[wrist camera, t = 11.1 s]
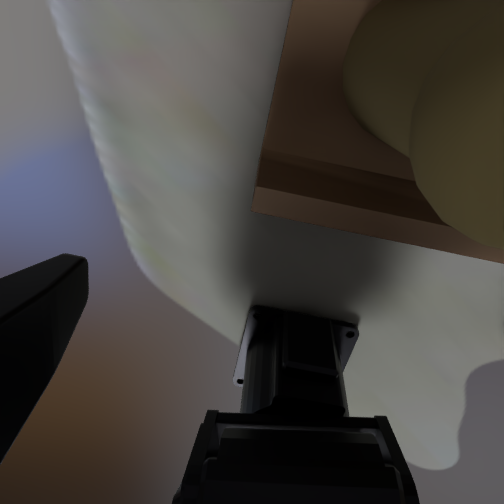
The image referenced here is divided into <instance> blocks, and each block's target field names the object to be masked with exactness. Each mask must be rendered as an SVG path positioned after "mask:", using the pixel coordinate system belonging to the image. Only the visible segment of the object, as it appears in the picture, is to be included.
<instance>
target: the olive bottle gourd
mask: <svg viewBox="0 0 504 504" xmlns="http://www.w3.org/2000/svg"><path fill="white" fill-rule="evenodd" d="M343 92H344V95H345V98H346V102H347V105H348V108H349V111H350V113H351V114H352V115H353V117H354V118H355V119H356V121H357V122H358V123H359V125H360V126H361V127H362V129H364V130H365V131H367V132H369V133H370V134H372V135H373V136H375V137H376V138H378V139H379V140H381V141H382V142H384V143H386V144H387V145H389V146H391V147H392V148H394V149H395V150H397V151H399V152H400V153H402V154H404V155H405V156H407V157H409V158H410V161H411V165H412V169H413V172H414V176H415V180H416V184H417V186H418V188H419V189H420V191H421V192H422V194H423V195H424V197H425V198H426V199H427V201H428V202H429V204H430V205H431V206H432V208H433V209H434V210H435V212H436V213H437V214H438V216H439V217H440V219H441V220H442V221H443V222H445V223H446V224H448V225H450V226H451V227H453V228H454V229H456V230H458V231H459V232H461V233H462V234H464V235H466V236H467V237H469V238H471V239H472V240H474V241H476V242H478V243H480V244H482V245H485V246H490V247H494V248H498V249H503V250H504V0H381V1H380V2H379V3H378V4H377V5H376V6H375V7H374V8H373V9H371V10H370V11H369V12H368V13H367V14H366V15H365V17H364V18H363V20H362V22H361V23H360V25H359V26H358V28H357V29H356V31H355V33H354V34H353V36H352V37H351V39H350V43H349V46H348V49H347V53H346V56H345V59H344V62H343Z"/></svg>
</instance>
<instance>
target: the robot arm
mask: <svg viewBox="0 0 504 504" xmlns="http://www.w3.org/2000/svg"><path fill="white" fill-rule="evenodd" d="M88 285H89V283H88V262H87V259H86V258H85V257H82V256H77V255H72V254H66V253H65V254H61V255H59V256H56V257H53V258H51V259H48V260H46V261H43V262H41V263H38V264H35V265H33V266H30V267H28V268H26V269H23V270H20V271H18V272H15V273H13V274H10V275H8V276H5V277H3V278H0V464H1V462H2V461H3V459H4V457H5V456H6V454H7V452H8V451H9V449H10V447H11V446H12V444H13V442H14V441H15V439H16V437H17V436H18V434H19V432H20V431H21V429H22V427H23V426H24V424H25V422H26V421H27V419H28V417H29V416H30V414H31V412H32V411H33V409H34V407H35V406H36V404H37V402H38V401H39V399H40V397H41V396H42V394H43V392H44V391H45V389H46V387H47V386H48V384H49V382H50V380H51V379H52V377H53V375H54V373H55V371H56V369H57V367H58V365H59V363H60V361H61V359H62V356H63V354H64V352H65V350H66V348H67V345H68V343H69V341H70V338H71V337H72V334H73V332H74V330H75V327H76V325H77V323H78V321H79V319H80V317H81V314H82V312H83V310H84V308H85V305H86V303H87V299H88V293H89V292H88V291H89V286H88ZM255 313H260V314H261V315H255ZM349 331H352V333H347V332H349ZM358 337H359V331H358V328H357V326H356V325H354V324H351V323H346V322H341V321H336V320H331V319H327V318H322V317H317V316H311V315H306V314H301V313H296V312H291V311H286V310H281V309H276V308H270V307H265V306H260V305H255V306H253V307H251V308H250V310H249V314H248V318H247V322H246V327H245V331H244V335H243V339H242V343H241V347H240V351H239V355H238V359H237V363H236V367H235V371H234V375H233V383H234V384H235V385H236V386H239V387H243V390H242V399H241V408H240V413H227V412H219V411H218V410H207V413H206V416H205V420H204V423H201V425H200V428H199V431H198V434H197V437H196V440H195V443H194V446H193V449H192V452H191V456H190V459H189V461H188V464H187V468H186V471H185V474H184V477H183V480H182V482H181V484H180V486H179V488H178V490H177V491H176V494H175V495H174V497H173V501H172V504H420V503H419V498H418V494H417V490H416V486H415V483H414V480H413V478H412V475H411V473H410V470H409V468H408V465H407V463H406V461H405V458H404V456H403V454H402V451H401V449H400V447H399V444H398V442H397V440H396V437H395V435H394V433H393V430H392V428H391V426H390V423H389V421H388V419H387V417H386V416H374V418H371V417H349V410H348V404H347V398H346V391H345V385H344V379H343V371H344V369H345V366H346V364H347V362H348V359H349V357H350V355H351V353H352V350H353V348H354V346H355V343H356V341H357V339H358Z"/></svg>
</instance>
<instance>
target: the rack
mask: <svg viewBox="0 0 504 504" xmlns="http://www.w3.org/2000/svg"><path fill="white" fill-rule="evenodd" d="M380 1H381V0H293V3H292V8H291V12H290V17H289V22H288V26H287V31H286V36H285V41H284V45H283V50H282V55H281V60H280V64H279V69H278V74H277V78H276V83H275V88H274V93H273V97H272V102H271V107H270V112H269V116H268V121H267V126H266V131H265V135H264V140H263V145H262V149H261V154H260V159H259V164H258V170H257V176H256V183H255V189H254V195H253V201H252V207H251V211H252V212H257V213H261V214H266V215H271V216H276V217H281V218H286V219H290V220H295V221H300V222H305V223H310V224H314V225H319V226H324V227H329V228H334V229H339V230H343V231H348V232H353V233H358V234H363V235H368V236H372V237H377V238H382V239H387V240H392V241H397V242H401V243H406V244H411V245H416V246H421V247H426V248H430V249H435V250H440V251H445V252H450V253H454V254H459V255H464V256H469V257H474V258H479V259H483V260H488V261H493V262H498V263H503V264H504V250H503V249H498V248H494V247H490V246H485V245H482V244H480V243H478V242H476V241H474V240H472V239H471V238H469V237H467V236H466V235H464V234H462V233H461V232H459V231H458V230H456V229H454V228H453V227H451V226H450V225H448V224H446V223H445V222H443V221H442V220H441V219H440V217H439V216H438V214H437V213H436V212H435V210H434V209H433V208H432V206H431V205H430V204H429V202H428V201H427V199H426V198H425V197H424V195H423V194H422V192H421V191H420V189H419V188H418V186H417V184H416V180H415V176H414V172H413V169H412V165H411V161H410V158H409V157H407V156H405V155H404V154H402V153H400V152H399V151H397V150H395V149H394V148H392V147H391V146H389V145H387V144H386V143H384V142H382V141H381V140H379V139H378V138H376V137H375V136H373V135H372V134H370V133H369V132H367V131H365V130H364V129H362V127H361V126H360V125H359V123H358V122H357V121H356V119H355V118H354V117H353V115H352V114H351V113H350V111H349V108H348V105H347V102H346V98H345V95H344V92H343V62H344V59H345V56H346V53H347V49H348V46H349V43H350V39H351V37H352V36H353V34H354V33H355V31H356V29H357V28H358V26H359V25H360V23H361V22H362V20H363V18H364V17H365V15H366V14H367V13H368V12H369V11H370V10H371V9H373V8H374V7H375V6H376V5H377V4H378V3H379V2H380Z"/></svg>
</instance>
